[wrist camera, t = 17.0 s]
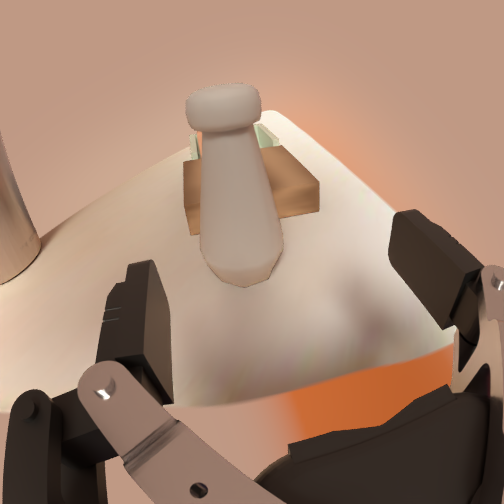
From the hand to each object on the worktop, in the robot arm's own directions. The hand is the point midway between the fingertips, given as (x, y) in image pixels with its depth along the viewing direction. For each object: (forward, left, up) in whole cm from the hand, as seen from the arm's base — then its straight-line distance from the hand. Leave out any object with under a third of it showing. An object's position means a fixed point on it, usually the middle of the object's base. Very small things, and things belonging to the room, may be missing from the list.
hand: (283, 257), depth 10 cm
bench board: (+2, +23, -9) cm, 24 cm away
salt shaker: (0, +11, -9) cm, 14 cm away
